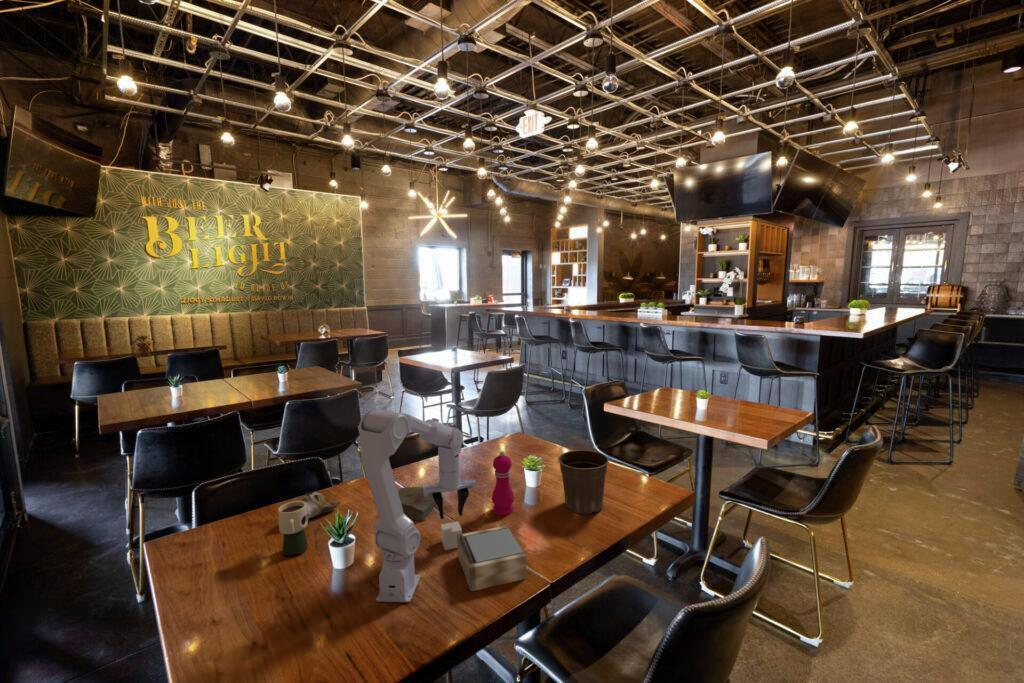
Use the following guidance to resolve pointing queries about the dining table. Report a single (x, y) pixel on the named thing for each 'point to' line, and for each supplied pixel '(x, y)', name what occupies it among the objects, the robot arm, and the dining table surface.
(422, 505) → the dark grey rock slab
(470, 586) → the frame
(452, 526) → the pale grey cube
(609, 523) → the dining table surface
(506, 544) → the trapdoor flap
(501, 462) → the pepper mill
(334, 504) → the ceramic sculpture
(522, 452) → the dining table surface
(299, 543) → the character mug
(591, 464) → the plant pot
